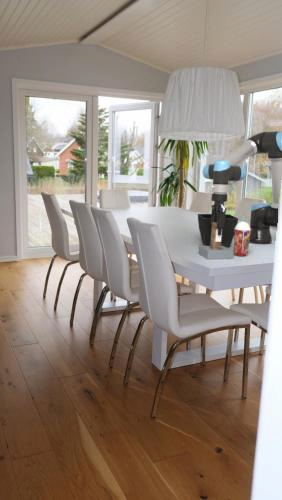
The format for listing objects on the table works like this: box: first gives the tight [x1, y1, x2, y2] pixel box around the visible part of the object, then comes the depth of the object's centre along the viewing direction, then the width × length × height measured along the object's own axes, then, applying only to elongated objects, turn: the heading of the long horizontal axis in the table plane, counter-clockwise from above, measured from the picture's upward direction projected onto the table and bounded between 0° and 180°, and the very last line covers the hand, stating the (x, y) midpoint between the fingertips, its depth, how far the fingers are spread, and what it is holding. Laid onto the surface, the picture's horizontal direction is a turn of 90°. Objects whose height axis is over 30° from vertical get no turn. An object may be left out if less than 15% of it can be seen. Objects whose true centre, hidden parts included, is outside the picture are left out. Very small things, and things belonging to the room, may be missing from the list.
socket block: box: [197, 245, 234, 260], centre depth 222 cm, size 13×13×4 cm
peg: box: [210, 222, 222, 250], centre depth 220 cm, size 4×4×14 cm
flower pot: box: [197, 213, 239, 248], centre depth 249 cm, size 19×19×17 cm
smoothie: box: [233, 215, 251, 257], centre depth 225 cm, size 8×8×20 cm
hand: (216, 240), depth 221 cm, fingers closed on peg, 4 cm apart
